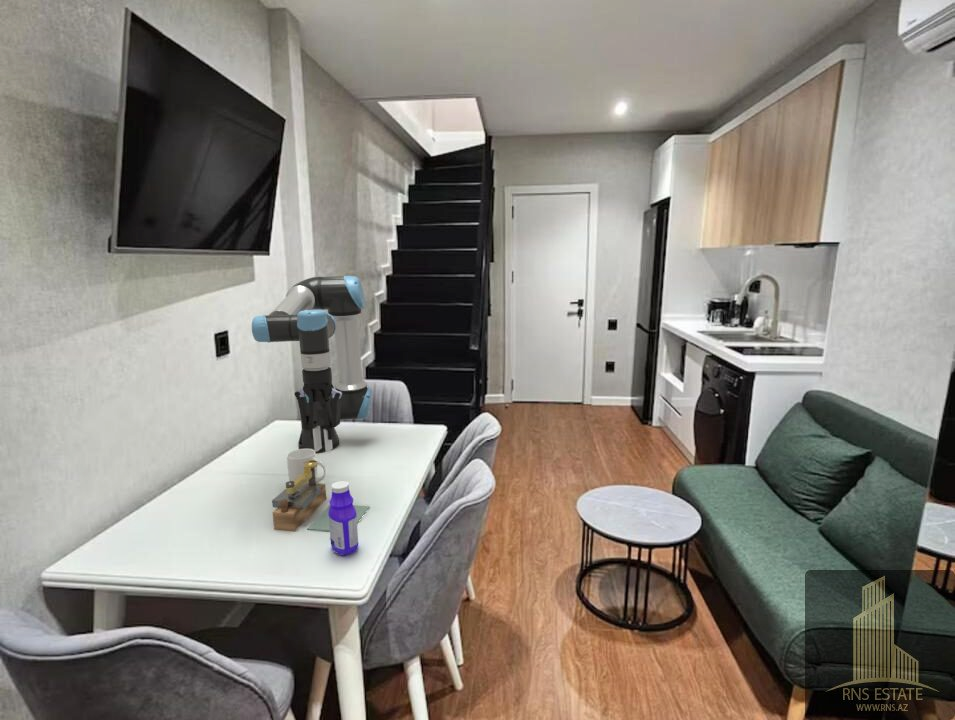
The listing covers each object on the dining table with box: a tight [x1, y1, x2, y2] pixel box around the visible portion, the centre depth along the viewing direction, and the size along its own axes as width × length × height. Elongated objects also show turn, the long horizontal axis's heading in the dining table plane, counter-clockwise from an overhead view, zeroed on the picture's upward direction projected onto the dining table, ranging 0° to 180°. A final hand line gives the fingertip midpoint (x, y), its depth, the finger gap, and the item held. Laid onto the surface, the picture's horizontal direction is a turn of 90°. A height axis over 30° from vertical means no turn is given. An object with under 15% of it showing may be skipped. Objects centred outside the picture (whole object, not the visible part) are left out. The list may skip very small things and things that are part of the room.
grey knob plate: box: [271, 485, 321, 510], centre depth 139 cm, size 10×9×3 cm
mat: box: [307, 504, 371, 533], centre depth 139 cm, size 14×12×1 cm
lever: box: [285, 460, 318, 494], centre depth 141 cm, size 14×4×4 cm, turn 170°
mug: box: [286, 448, 326, 484], centre depth 158 cm, size 9×12×11 cm
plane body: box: [272, 468, 327, 532], centre depth 141 cm, size 18×6×11 cm, turn 170°
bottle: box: [328, 480, 359, 556], centre depth 122 cm, size 7×6×17 cm
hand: (323, 449), depth 139 cm, fingers open, 3 cm apart
